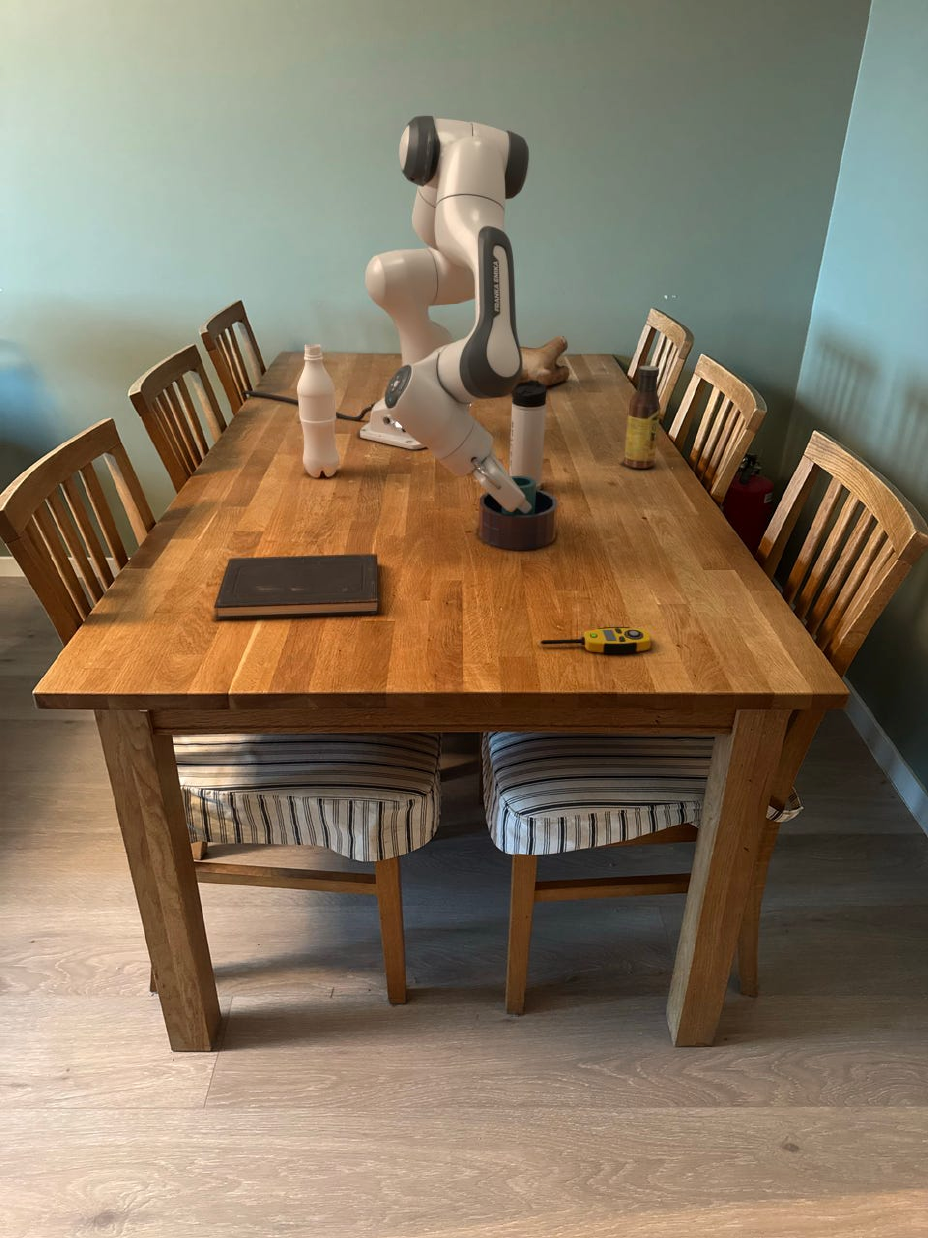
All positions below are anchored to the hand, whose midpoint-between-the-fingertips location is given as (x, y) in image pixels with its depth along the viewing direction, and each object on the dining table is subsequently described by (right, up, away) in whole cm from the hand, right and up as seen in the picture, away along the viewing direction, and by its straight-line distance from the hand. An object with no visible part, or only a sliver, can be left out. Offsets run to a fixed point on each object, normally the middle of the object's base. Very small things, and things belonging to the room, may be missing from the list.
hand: (522, 501), depth 148 cm
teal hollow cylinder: (-1, -4, +2) cm, 4 cm away
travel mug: (+2, +5, +22) cm, 22 cm away
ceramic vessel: (0, +43, +87) cm, 97 cm away
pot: (-1, -5, +3) cm, 6 cm away
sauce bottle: (+26, +12, +33) cm, 44 cm away
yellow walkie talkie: (+8, -24, -28) cm, 38 cm away
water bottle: (-38, +9, +27) cm, 48 cm away
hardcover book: (-34, -16, -16) cm, 41 cm away
